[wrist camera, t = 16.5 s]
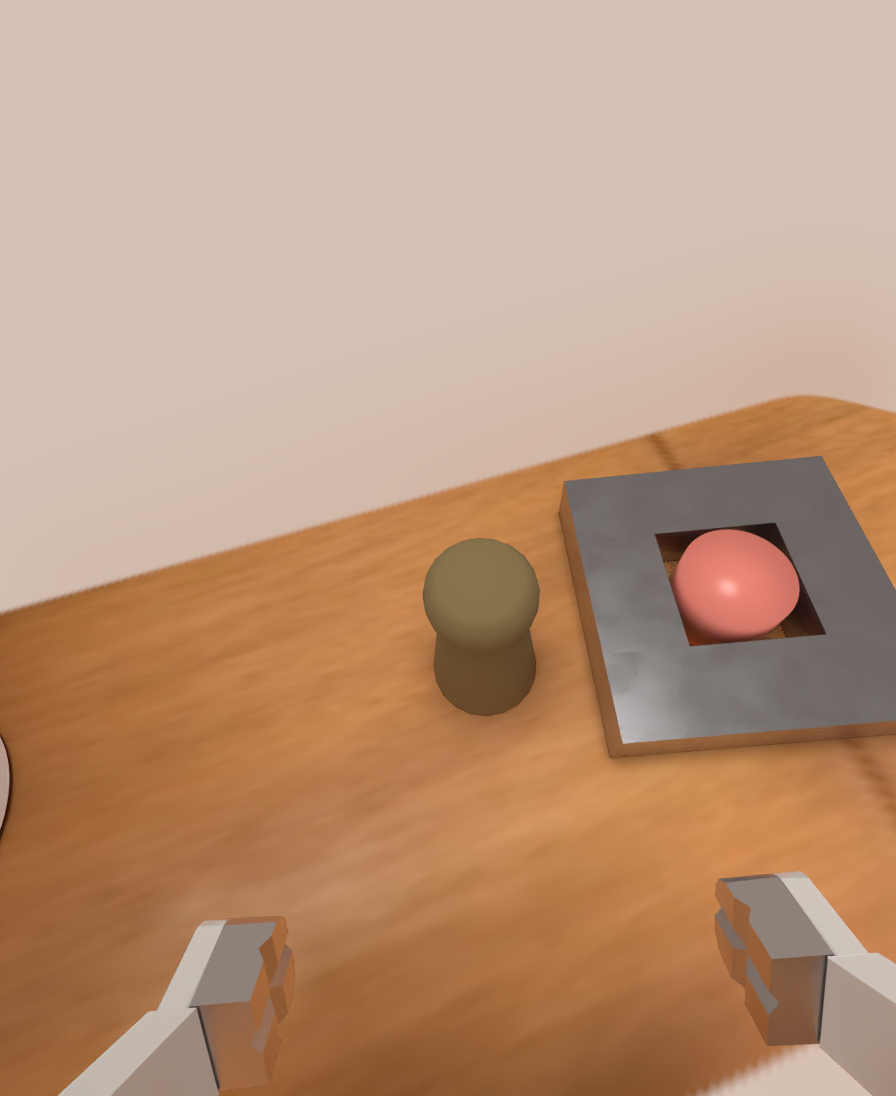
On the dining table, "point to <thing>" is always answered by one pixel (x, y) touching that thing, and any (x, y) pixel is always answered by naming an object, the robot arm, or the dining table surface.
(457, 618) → the olive pepper mill
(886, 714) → the switch box
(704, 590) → the button
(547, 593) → the dining table surface
